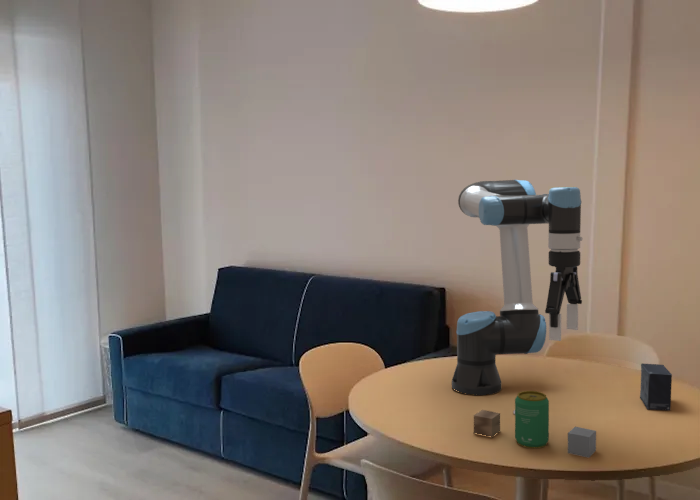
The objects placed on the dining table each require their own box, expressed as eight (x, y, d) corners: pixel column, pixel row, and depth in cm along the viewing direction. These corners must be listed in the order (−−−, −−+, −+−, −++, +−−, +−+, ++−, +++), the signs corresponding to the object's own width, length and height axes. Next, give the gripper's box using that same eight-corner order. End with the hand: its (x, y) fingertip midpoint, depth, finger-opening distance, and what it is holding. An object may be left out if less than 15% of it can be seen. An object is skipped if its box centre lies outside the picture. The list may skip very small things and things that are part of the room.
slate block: (567, 453, 164) (567, 432, 164) (574, 446, 168) (575, 426, 167) (588, 458, 161) (589, 437, 161) (595, 451, 165) (596, 430, 164)
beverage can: (554, 441, 171) (554, 394, 170) (538, 451, 165) (538, 402, 164) (525, 434, 177) (525, 388, 175) (509, 443, 171) (508, 396, 169)
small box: (672, 411, 190) (673, 374, 189) (647, 410, 191) (647, 373, 190) (663, 399, 200) (664, 363, 199) (639, 398, 202) (639, 362, 201)
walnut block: (473, 434, 178) (473, 415, 177) (482, 428, 182) (482, 409, 181) (491, 438, 175) (491, 418, 174) (500, 432, 179) (500, 413, 178)
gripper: (563, 256, 159) (563, 346, 161) (594, 245, 179) (593, 326, 182) (531, 254, 163) (531, 343, 165) (565, 244, 184) (564, 323, 186)
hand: (564, 334), depth 174 cm, fingers open, 13 cm apart
